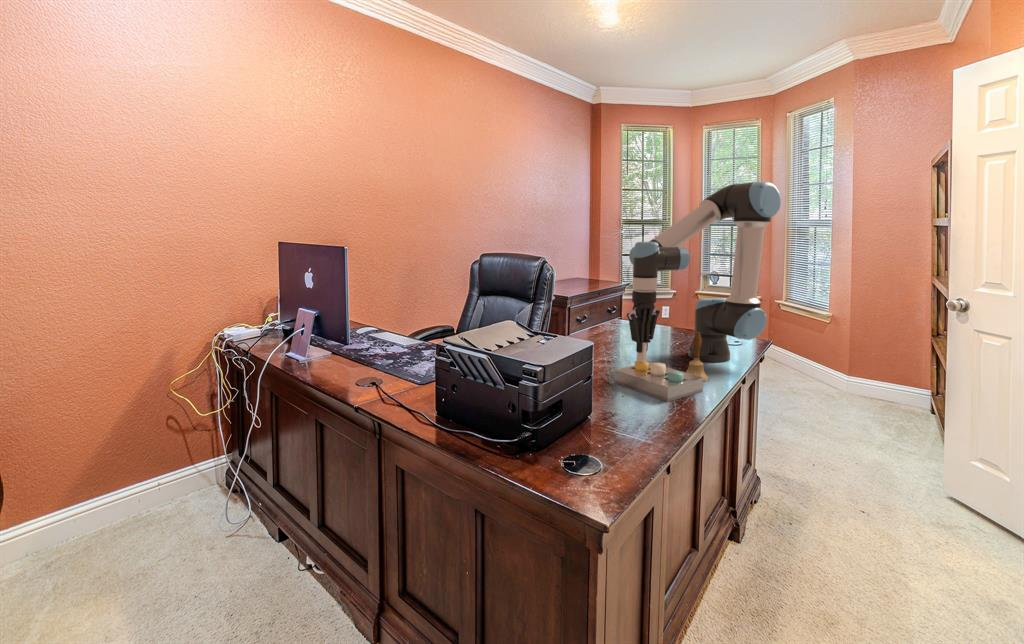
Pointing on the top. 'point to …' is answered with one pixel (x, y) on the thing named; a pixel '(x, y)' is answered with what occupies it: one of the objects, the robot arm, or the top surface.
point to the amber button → (641, 366)
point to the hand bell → (697, 359)
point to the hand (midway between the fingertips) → (641, 361)
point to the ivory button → (658, 369)
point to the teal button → (675, 376)
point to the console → (658, 383)
